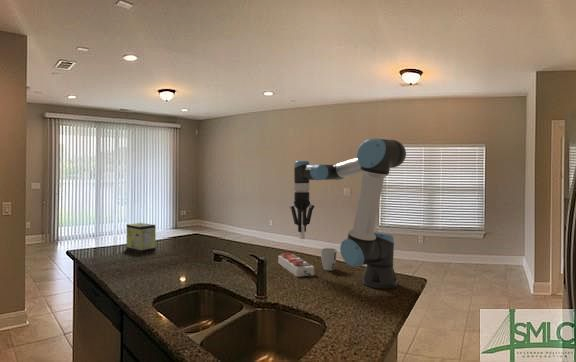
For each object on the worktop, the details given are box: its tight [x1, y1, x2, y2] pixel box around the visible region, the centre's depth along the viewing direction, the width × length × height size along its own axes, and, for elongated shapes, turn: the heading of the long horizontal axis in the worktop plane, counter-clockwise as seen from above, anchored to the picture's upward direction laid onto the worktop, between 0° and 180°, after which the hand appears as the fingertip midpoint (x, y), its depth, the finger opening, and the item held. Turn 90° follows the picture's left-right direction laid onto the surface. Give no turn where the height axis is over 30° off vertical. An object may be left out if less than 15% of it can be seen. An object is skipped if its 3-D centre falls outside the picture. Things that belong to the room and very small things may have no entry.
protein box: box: [126, 222, 157, 253], centre depth 245 cm, size 10×16×16 cm
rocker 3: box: [292, 261, 303, 264], centre depth 194 cm, size 5×4×2 cm
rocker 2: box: [287, 254, 297, 262], centre depth 203 cm, size 5×4×2 cm
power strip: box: [277, 254, 315, 277], centre depth 201 cm, size 34×9×4 cm, turn 19°
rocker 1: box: [280, 252, 292, 256], centre depth 211 cm, size 5×4×2 cm
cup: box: [320, 247, 338, 272], centre depth 203 cm, size 8×8×10 cm
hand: (302, 238), depth 200 cm, fingers closed
